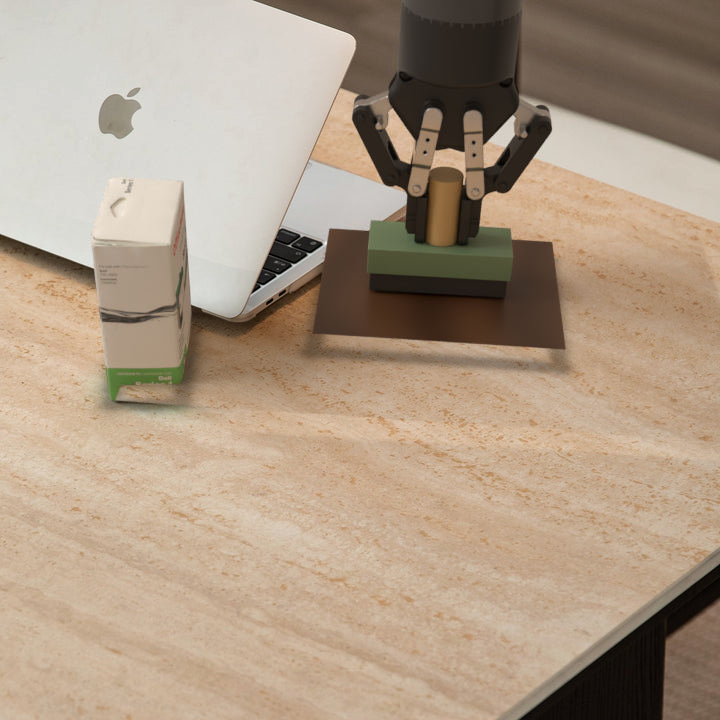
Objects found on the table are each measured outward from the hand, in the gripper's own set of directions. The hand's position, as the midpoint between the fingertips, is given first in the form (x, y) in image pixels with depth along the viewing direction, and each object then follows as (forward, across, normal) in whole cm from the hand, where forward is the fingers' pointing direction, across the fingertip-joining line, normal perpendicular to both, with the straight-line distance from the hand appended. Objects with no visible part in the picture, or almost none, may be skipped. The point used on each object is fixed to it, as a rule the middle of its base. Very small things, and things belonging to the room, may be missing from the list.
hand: (441, 236), depth 87 cm
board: (+5, 0, 0) cm, 5 cm away
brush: (+4, 0, 0) cm, 4 cm away
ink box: (+6, -19, -10) cm, 22 cm away
